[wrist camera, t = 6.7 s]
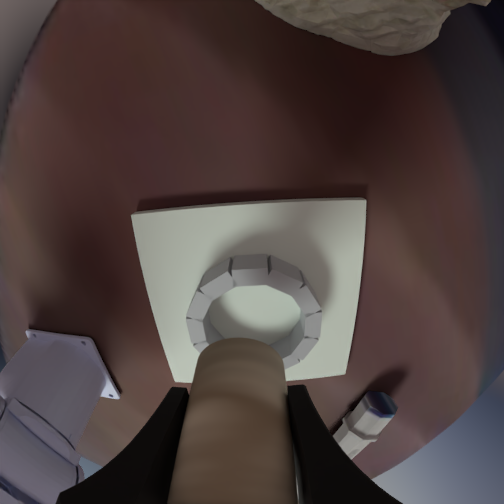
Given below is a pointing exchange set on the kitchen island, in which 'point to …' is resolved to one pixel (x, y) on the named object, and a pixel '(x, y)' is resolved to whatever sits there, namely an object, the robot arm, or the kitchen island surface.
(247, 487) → the maple peg
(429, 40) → the ceramic cottage
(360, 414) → the white handheld device
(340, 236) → the collar plate
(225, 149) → the kitchen island surface
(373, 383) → the kitchen island surface
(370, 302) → the kitchen island surface
